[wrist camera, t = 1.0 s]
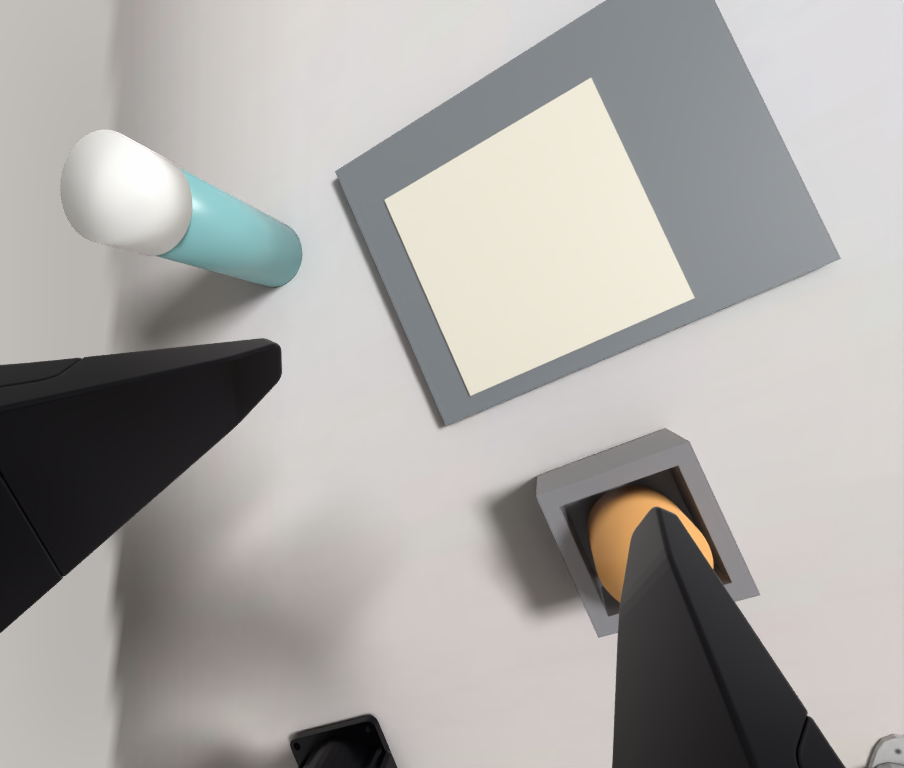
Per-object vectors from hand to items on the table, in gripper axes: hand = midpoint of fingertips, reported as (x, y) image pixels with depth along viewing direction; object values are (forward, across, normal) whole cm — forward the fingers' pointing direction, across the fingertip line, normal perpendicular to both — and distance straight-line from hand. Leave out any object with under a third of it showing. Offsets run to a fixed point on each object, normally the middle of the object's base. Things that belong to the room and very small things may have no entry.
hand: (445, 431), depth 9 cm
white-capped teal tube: (+13, +16, +4) cm, 22 cm away
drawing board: (+17, +1, -2) cm, 17 cm away
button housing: (+11, -8, +9) cm, 16 cm away
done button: (+9, -8, +8) cm, 15 cm away
